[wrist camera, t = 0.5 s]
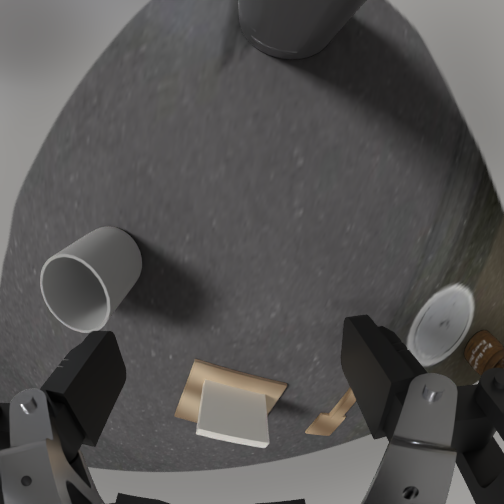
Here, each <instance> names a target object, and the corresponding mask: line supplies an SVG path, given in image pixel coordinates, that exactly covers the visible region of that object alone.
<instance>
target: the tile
mask: <svg viewBox="0 0 504 504" xmlns="http://www.w3.org/2000/svg"><path fill="white" fill-rule="evenodd" d="M196 434H198V435H202V436H206V437H210V438H214V439H219V440H223V441H228V442H233V443H238V444H243V445H249V446H255V447H261V448H266V446H267V445H268V444H269V433H268V421H267V409H266V397H265V394H260V393H256V392H252V391H248V390H244V389H240V388H236V387H232V386H228V385H224V384H221V383H217V382H214V381H210V380H207V379H205V381H204V384H203V388H202V394H201V401H200V408H199V415H198V422H197V429H196Z"/></svg>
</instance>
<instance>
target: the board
mask: <svg viewBox="0 0 504 504" xmlns="http://www.w3.org/2000/svg"><path fill="white" fill-rule="evenodd" d="M205 379H207V380H210V381H214V382H217V383H221V384H224V385H228V386H232V387H236V388H240V389H244V390H248V391H252V392H256V393H260V394H265V397H266V409H267V415H268V413H269V412H270V410H271V409H272V408H273V406H274V405H275V403H276V402H277V400H278V399H279V397H280V396H281V394H282V393H283V391H284V390H285V388H286V387H287V383H283V382H279V381H274V380H270V379H266V378H262V377H258V376H254V375H250V374H246V373H243V372H239V371H235V370H232V369H228V368H225V367H221V366H218V365H214V364H211V363H208V362H204V361H201V360H198V359H195V361H194V364H193V367H192V369H191V372H190V375H189V377H188V380H187V383H186V385H185V388H184V391H183V393H182V396H181V399H180V401H179V404H178V407H177V410H176V412H175V417H179V418H182V419H186V420H189V421H193V422H196V423H197V422H198V415H199V408H200V401H201V394H202V388H203V384H204V381H205Z"/></svg>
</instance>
